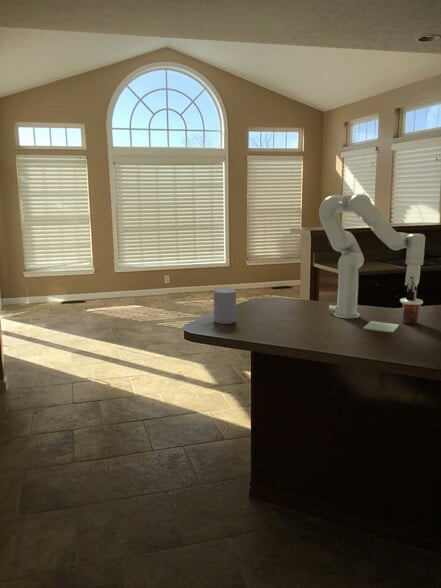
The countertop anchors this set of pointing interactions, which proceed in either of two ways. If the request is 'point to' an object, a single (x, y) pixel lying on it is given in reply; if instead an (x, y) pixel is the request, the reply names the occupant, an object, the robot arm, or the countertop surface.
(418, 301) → the lid
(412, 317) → the mug
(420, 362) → the countertop surface
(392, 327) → the mat
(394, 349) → the countertop surface
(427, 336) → the countertop surface
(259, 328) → the countertop surface
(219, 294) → the container
